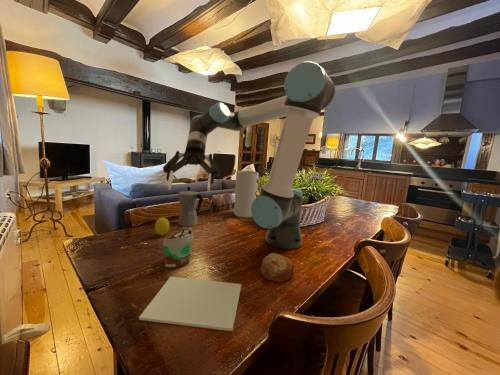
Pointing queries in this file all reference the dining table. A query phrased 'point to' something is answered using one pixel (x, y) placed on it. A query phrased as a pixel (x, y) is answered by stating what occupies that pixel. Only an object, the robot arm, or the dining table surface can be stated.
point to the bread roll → (277, 267)
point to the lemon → (162, 226)
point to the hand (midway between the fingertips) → (188, 189)
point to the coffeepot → (189, 207)
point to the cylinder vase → (245, 192)
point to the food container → (178, 249)
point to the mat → (195, 304)
